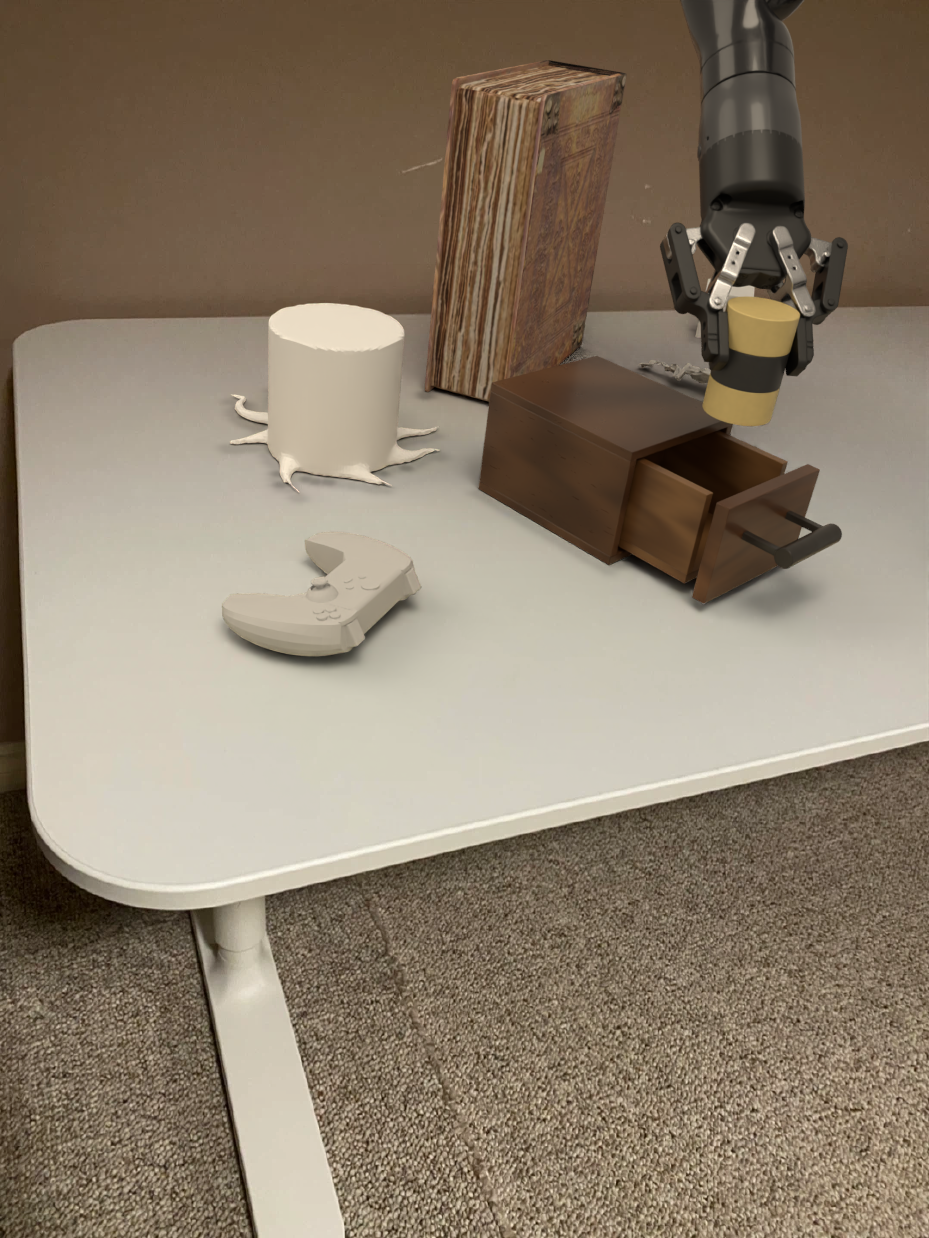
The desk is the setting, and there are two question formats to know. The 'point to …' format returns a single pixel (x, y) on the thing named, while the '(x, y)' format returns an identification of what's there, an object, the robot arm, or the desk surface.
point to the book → (519, 220)
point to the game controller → (327, 598)
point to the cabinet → (581, 445)
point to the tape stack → (752, 361)
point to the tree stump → (333, 392)
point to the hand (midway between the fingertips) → (758, 368)
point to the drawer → (721, 513)
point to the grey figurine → (683, 371)
